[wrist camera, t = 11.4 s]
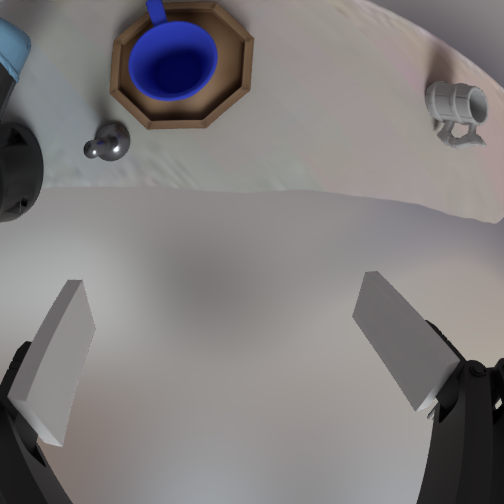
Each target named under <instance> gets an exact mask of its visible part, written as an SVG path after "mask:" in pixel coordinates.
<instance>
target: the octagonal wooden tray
mask: <svg viewBox="0 0 504 504" xmlns="http://www.w3.org/2000/svg"><path fill="white" fill-rule="evenodd" d="M162 4H163V7H164V10H165V14H166V17H167V21H168V22H170V21H185V22H190V23H193V24H196V25H198V26H200V27H201V28H203V29H204V30H206V31H207V32H208V33H209V34H210V36H211V37H212V38H213V40H214V42H215V44H216V48H217V52H218V61H217V66H216V69H215V72H214V74H213V76H212V77H211V79H210V80H209V82H208V83H207V84H206V85H205V86H204V87H203V88H202V89H201V90H200V91H198V92H197V93H196V94H194V95H193V96H191V97H189V98H186V99H182V100H175V101H161V100H156V99H153V98H150V97H148V96H146V95H144V94H143V93H142V92H140V91H139V90H138V89H137V88H136V86H135V85H134V84H133V82H132V80H131V77H130V74H129V69H128V63H129V57H130V53H131V51H132V48H133V46H134V45H135V43H136V42H137V40H138V39H139V38H140V37H141V36H142V35H143V34H144V33H145V32H147V31H148V30H149V29H151V28H153V27H154V26H153V23H152V21H151V18H150V15H149V12H146V13H145V14H144V15H143V16H142V17H140V18H139V19H138V20H137V21H136V22H134V23H133V24H132V25H131V26H130V27H129V28H128V29H126V30H125V31H124V32H123V33H122V34H121V35H120V36H119V37H118V38H117V39H116V40H115V41H114V45H113V54H112V65H111V77H110V94H111V95H112V96H113V97H114V98H115V99H116V100H117V101H118V102H119V103H120V104H121V105H122V106H123V107H124V108H125V109H126V110H128V111H129V112H130V113H131V114H132V115H133V116H134V117H135V118H136V119H137V120H138V121H139V122H140V123H141V124H142V125H143V126H144V127H145V128H146V129H148V130H150V129H178V128H207V127H208V126H209V125H210V124H211V123H212V122H214V121H215V120H216V119H217V118H218V117H219V116H220V115H221V114H223V113H224V112H225V111H226V110H227V109H228V108H230V107H231V106H232V105H233V104H234V103H235V102H237V101H238V100H239V99H240V98H241V97H243V96H244V95H245V94H246V93H248V92H249V91H250V86H251V72H252V59H253V45H254V38H253V37H252V36H251V35H250V34H249V33H248V32H247V31H246V30H245V29H244V28H243V27H242V26H241V25H240V24H239V23H238V22H237V21H236V20H235V19H234V18H233V17H231V16H230V15H229V14H228V13H227V12H226V11H225V10H224V9H223V8H222V7H220V6H219V5H218V4H217V3H216V2H174V3H162Z"/></svg>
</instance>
